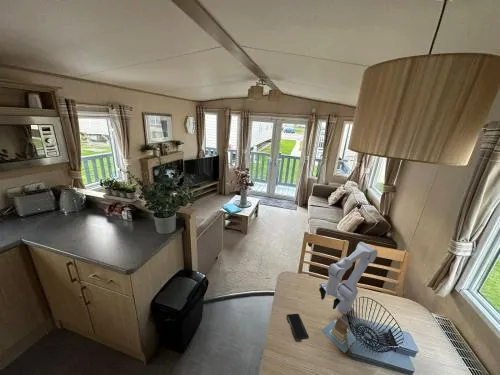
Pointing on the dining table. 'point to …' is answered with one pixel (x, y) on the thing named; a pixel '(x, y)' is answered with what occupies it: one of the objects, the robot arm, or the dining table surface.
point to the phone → (297, 327)
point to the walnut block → (341, 325)
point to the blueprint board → (332, 337)
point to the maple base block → (339, 334)
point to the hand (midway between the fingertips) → (328, 303)
